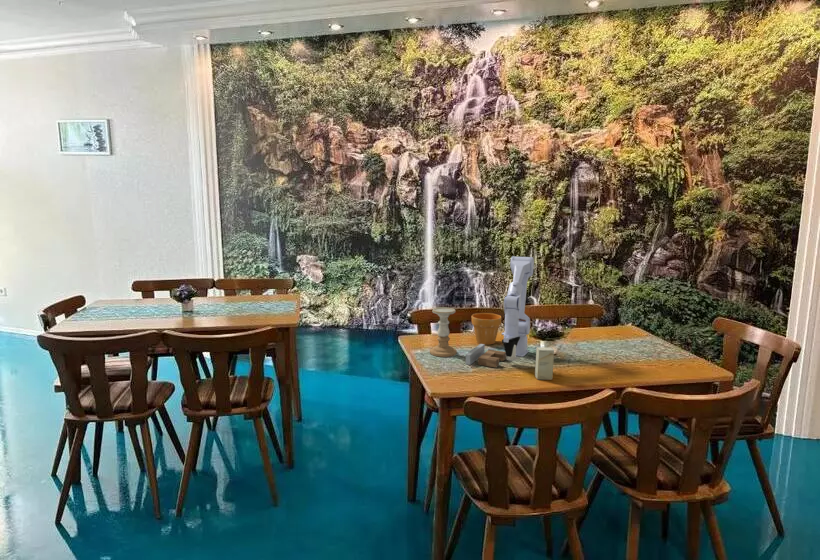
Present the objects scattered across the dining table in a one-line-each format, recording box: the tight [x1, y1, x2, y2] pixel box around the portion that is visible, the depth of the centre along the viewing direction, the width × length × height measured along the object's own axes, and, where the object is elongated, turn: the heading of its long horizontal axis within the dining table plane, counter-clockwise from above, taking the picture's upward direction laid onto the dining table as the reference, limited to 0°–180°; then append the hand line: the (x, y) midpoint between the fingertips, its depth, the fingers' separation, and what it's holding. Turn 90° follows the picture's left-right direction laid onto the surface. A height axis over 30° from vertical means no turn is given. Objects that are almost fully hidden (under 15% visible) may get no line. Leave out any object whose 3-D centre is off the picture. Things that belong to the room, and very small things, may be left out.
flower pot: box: [471, 312, 502, 346], centre depth 285 cm, size 14×14×13 cm
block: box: [477, 349, 507, 368], centre depth 256 cm, size 14×8×3 cm, turn 153°
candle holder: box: [429, 306, 458, 358], centre depth 267 cm, size 12×12×20 cm
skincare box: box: [534, 346, 555, 381], centre depth 235 cm, size 6×4×12 cm
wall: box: [465, 343, 486, 366], centre depth 260 cm, size 18×2×4 cm, turn 153°
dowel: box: [505, 345, 517, 361], centre depth 251 cm, size 4×4×6 cm
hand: (510, 354), depth 252 cm, fingers closed on dowel, 4 cm apart
